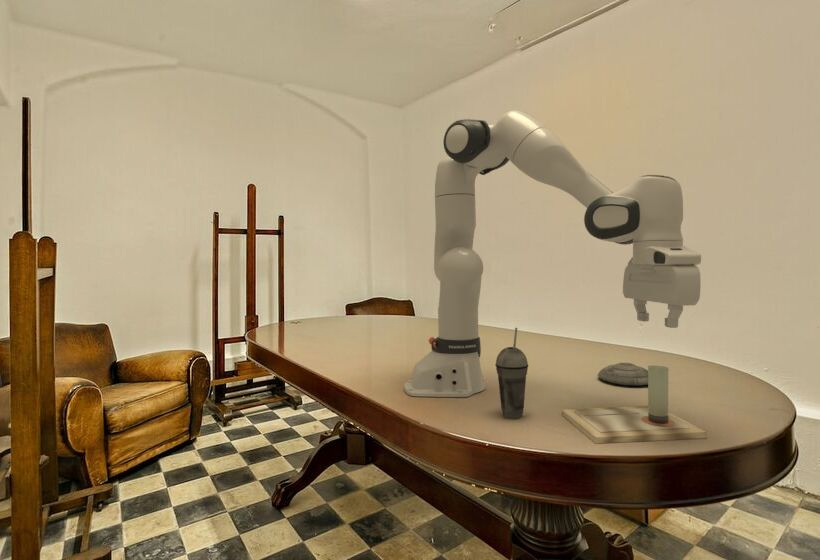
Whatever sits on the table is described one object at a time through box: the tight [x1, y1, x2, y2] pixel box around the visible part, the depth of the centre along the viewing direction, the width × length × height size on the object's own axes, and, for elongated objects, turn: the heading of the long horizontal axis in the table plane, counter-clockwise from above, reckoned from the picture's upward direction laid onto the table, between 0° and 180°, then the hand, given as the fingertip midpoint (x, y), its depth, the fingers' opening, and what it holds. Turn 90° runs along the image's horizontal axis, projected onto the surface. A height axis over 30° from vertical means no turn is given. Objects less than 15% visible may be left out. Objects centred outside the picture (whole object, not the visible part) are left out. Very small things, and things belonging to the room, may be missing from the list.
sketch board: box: [561, 405, 708, 444], centre depth 93 cm, size 22×16×2 cm
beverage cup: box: [495, 327, 529, 420], centre depth 100 cm, size 7×7×20 cm
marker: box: [647, 365, 669, 424], centre depth 91 cm, size 4×4×11 cm
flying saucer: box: [597, 362, 648, 386], centre depth 127 cm, size 15×15×6 cm
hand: (656, 324), depth 90 cm, fingers open, 8 cm apart
